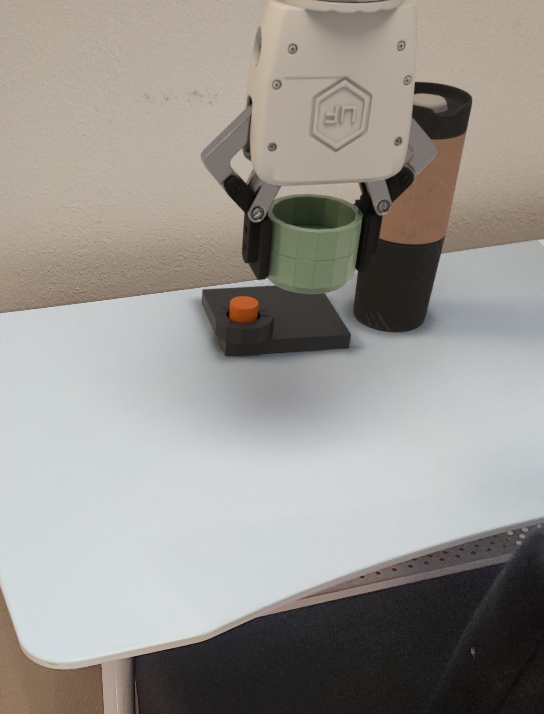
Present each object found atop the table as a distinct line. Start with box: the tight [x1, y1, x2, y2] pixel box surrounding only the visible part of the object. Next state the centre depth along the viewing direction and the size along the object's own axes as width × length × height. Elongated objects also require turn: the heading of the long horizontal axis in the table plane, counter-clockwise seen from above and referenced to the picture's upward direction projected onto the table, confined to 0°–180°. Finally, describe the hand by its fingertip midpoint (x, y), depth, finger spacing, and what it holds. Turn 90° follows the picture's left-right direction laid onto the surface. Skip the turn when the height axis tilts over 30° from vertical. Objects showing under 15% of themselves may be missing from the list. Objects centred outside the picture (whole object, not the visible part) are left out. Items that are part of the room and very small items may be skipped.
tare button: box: [229, 296, 259, 323], centre depth 91 cm, size 3×3×2 cm
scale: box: [201, 284, 352, 357], centre depth 96 cm, size 13×12×3 cm
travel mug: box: [352, 81, 473, 333], centre depth 92 cm, size 8×8×20 cm
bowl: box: [267, 193, 363, 294], centre depth 69 cm, size 7×7×4 cm
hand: (307, 266), depth 70 cm, fingers closed on bowl, 6 cm apart
